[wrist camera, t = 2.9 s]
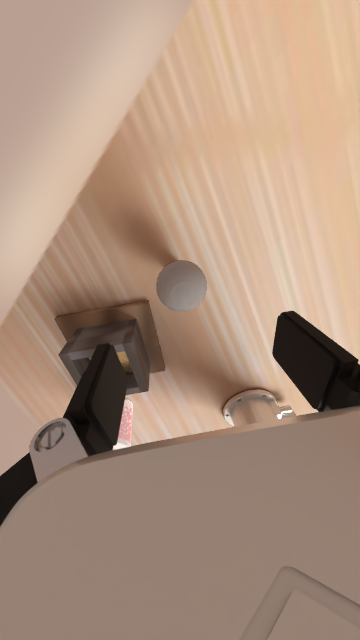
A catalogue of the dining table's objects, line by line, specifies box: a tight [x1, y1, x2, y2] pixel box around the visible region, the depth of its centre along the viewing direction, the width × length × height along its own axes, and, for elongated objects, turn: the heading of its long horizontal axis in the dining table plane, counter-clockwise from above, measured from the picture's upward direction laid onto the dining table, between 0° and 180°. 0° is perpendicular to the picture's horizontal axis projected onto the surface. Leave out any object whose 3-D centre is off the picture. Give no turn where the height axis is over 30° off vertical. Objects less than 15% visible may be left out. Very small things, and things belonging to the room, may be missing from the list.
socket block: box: [55, 301, 165, 395], centre depth 29 cm, size 14×14×7 cm
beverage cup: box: [113, 399, 133, 450], centre depth 34 cm, size 6×6×14 cm
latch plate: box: [88, 351, 133, 374], centre depth 29 cm, size 6×6×1 cm
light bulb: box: [157, 260, 207, 312], centre depth 22 cm, size 6×6×10 cm
